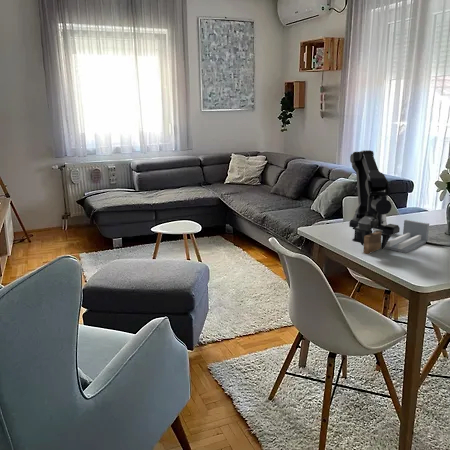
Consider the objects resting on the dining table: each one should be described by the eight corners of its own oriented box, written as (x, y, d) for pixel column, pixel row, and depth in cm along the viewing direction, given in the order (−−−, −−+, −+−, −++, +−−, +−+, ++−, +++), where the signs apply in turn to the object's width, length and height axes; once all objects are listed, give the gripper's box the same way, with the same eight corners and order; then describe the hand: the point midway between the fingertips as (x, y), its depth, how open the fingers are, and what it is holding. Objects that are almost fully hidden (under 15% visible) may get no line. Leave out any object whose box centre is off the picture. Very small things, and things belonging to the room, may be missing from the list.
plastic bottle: (389, 232, 202) (393, 188, 196) (377, 233, 199) (380, 190, 194) (380, 228, 207) (383, 186, 202) (368, 230, 205) (371, 187, 200)
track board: (381, 247, 180) (383, 228, 177) (404, 237, 193) (405, 219, 191) (405, 252, 172) (407, 233, 170) (427, 242, 186) (429, 223, 184)
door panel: (363, 253, 174) (364, 236, 172) (376, 247, 180) (377, 230, 179) (367, 254, 172) (369, 237, 170) (380, 248, 179) (381, 231, 177)
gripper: (342, 208, 173) (340, 246, 177) (387, 216, 160) (384, 256, 164) (357, 204, 181) (355, 240, 185) (401, 210, 167) (398, 250, 171)
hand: (372, 246), depth 176 cm, fingers open, 8 cm apart
